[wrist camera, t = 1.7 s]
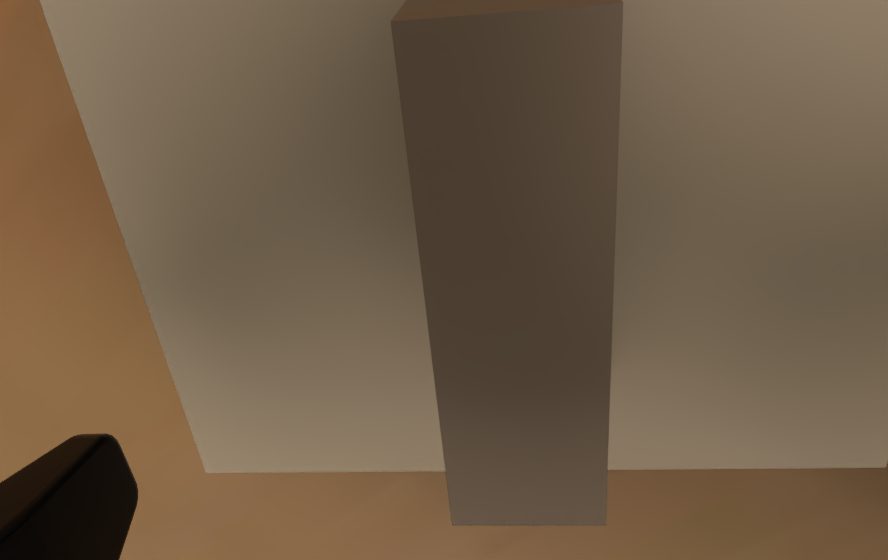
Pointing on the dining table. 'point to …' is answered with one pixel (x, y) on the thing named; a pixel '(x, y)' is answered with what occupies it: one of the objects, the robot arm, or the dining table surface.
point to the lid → (503, 233)
